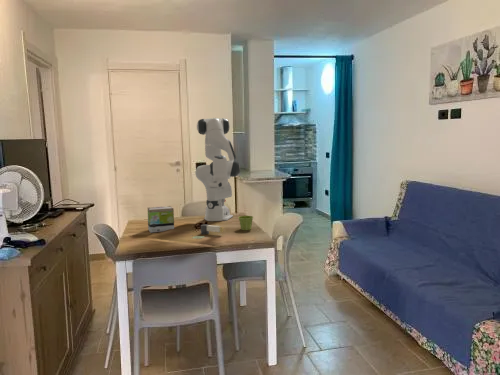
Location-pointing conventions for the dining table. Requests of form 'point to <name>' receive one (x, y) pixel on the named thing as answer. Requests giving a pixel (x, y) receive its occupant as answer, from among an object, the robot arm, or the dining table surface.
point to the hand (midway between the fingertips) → (221, 206)
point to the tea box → (160, 218)
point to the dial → (201, 237)
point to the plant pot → (245, 222)
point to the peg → (210, 229)
